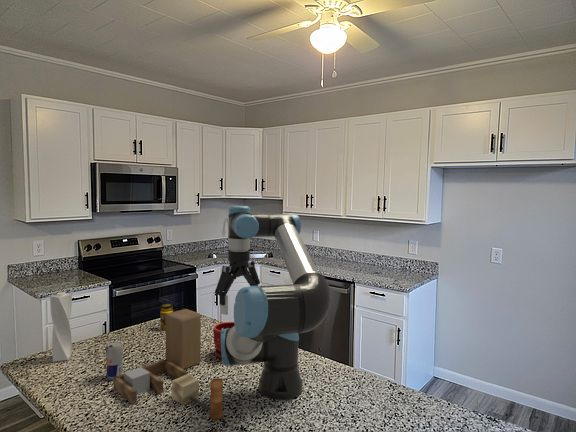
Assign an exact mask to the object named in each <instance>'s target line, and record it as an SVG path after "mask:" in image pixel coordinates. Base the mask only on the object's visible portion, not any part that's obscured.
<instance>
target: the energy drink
mask: <svg viewBox="0 0 576 432" xmlns="http://www.w3.org/2000/svg"><path fill="white" fill-rule="evenodd" d="M123 347H124V346H123V343H122V342H121V341H112V342H109V343H107V344H106V347H105V357H106V358H105V361H106V364H105V365H106V369H105V370H106V379H107V380H108V379H109V380H108V381H114V377H116V376H119V375H122V374H124V361H123V359H124V358H123V357H124V353H123Z"/></svg>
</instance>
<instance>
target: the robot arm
mask: <svg viewBox="0 0 576 432" xmlns="http://www.w3.org/2000/svg"><path fill="white" fill-rule="evenodd" d="M227 216H228V242H227V243H228V244H227V245H228V246H227V247H228V253H227V257H228V258H227V259H228V262H229V265H222V268H221V274H220V276H219V280H218V282H217V285H216V287H215V290H214V294H215V295H217V296H219V305H220V314H222V315H225V316H227V315H229V295H227V294H228V293H229V290H230V288H231V286H232V285H233V283H234V281H235V280H236V279H237V278H240V277H243V278H244V279H245V280H246V282H247V283H248V285H249V286H244V287H242V288H240V289H239V290H238V291H237V293H236V295H235V297H234V298H235V299H234V304H233V322H234V324H235V326H234V327H232V328H226V329H223V328H222V330H221V353H222V358H221V363H222V365H223V366H225V367H226V366H227V367H228V366H229V367H234V366H241V365H249V364H251V365H252V364H258V363H259V364H260V363H263V368H262V371H261V374H260V377H259V378H258V379H259V380H258V391H259V393H260V394H261V395H262V396H263V397H265V398H268V399H270V400H271V399H272V400H276V401H277V400H278V401H283V400H285V401H286V400H291V399H294V398H296V397H298V396H299V395H301V394H302V392H303V379H302V377H301V374H300V373H301V372H300V370H299V341H300V337H299V334H303V333H308V332H310V331H314V330H315V329H316V328H317V327H319V325H321V324H322V323H323V322H324V320H325V319H326V318H327V315H328V314H329V310H330V308H331V303H332V292H331V289H330V284H329V283H328V281H327V278H326V277H325V275H323V274H322V273H321V272H319V271H318V269H317V268H316V265H315V263H314V261H313V260H312V258H311V255H310V253H309V252H308V250H307V248H306V246H305V243H304V242H303V241H304V240H302V239H303V238H302V237H301V236H300V234H301V230H302V229H301V228H302V223H301V219H300V216H299V215H298V214H294V213H251V207H250V206H248V205H231V206H229V209H228V215H227ZM258 237H259V238H264V237H265V238H269V237H271V238H272V237H273V238H275V241H276V243H277V246H278V249H279V251H280V253H281V256H282V259H283V261H284V265H285V267H286V269H287V272H288V275H289V277H290V280H291V283H292V284H276V285H260V284H261V280H260V279H259V278H260V277H259V275H258V273H257V269H256V267H255V261H254V260H251V259H250V258H251V254H250V253H251V251H250V249H251V239H252V238H258Z"/></svg>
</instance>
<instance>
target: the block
mask: <svg viewBox="0 0 576 432" xmlns="http://www.w3.org/2000/svg"><path fill="white" fill-rule="evenodd" d="M123 374H124V382H125V383H127V384H128V385H129V386H131V387H132V388H133V389H134V390H136V391H137V395H139V394H142V393H145V392H147V391H150V390H151V387H150V373H149V372H148V371H146V370H145V369H143V368H142V366H140V367H137V368H134V369H131V370H128V371H126V372H123Z"/></svg>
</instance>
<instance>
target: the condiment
mask: <svg viewBox="0 0 576 432" xmlns="http://www.w3.org/2000/svg"><path fill="white" fill-rule="evenodd" d="M172 312H174V310H173V304H172V303H163V304H161V306H160V311H159V314H160V315H159V316H160V318H159V319H160V320H159V321H160V322H159V324H160V325H159V326H157V327H156V328H157V330H159V332H161V333H166V321H165V316H166V314H168V313H172Z"/></svg>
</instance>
